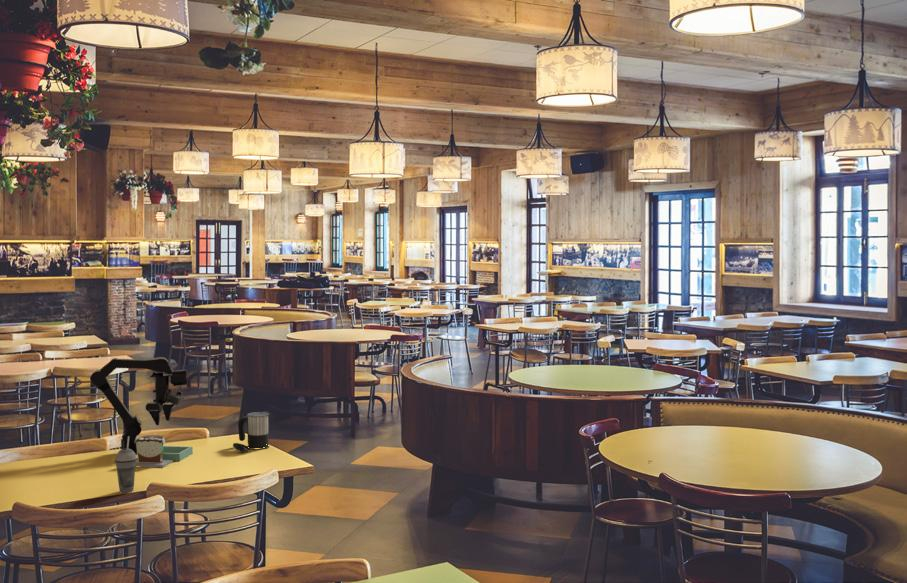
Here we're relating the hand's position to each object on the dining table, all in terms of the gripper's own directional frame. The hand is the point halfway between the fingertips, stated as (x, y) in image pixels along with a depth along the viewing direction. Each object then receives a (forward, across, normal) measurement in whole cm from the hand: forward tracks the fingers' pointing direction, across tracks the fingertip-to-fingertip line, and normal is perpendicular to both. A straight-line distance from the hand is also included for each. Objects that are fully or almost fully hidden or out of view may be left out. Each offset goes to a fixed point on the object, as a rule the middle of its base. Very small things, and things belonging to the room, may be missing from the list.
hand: (162, 422), depth 348 cm
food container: (+11, -21, -6) cm, 24 cm away
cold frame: (+12, -10, -6) cm, 17 cm away
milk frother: (+12, +6, -37) cm, 40 cm away
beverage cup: (+12, -58, -15) cm, 61 cm away
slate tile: (+12, -22, -6) cm, 26 cm away
